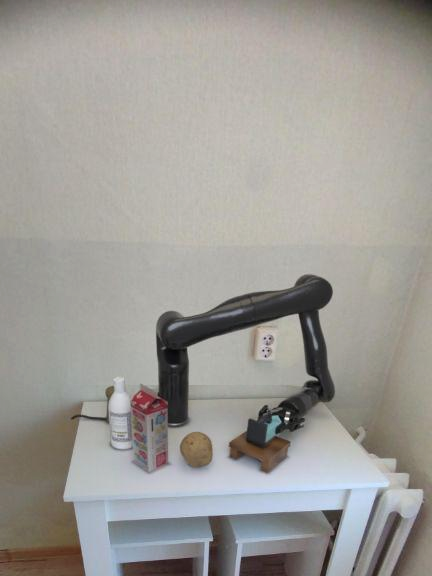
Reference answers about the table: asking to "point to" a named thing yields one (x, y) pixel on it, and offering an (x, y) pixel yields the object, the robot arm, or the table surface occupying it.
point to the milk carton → (149, 429)
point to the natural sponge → (196, 449)
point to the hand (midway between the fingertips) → (267, 427)
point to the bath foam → (120, 416)
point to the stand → (260, 451)
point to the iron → (262, 430)
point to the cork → (109, 393)
